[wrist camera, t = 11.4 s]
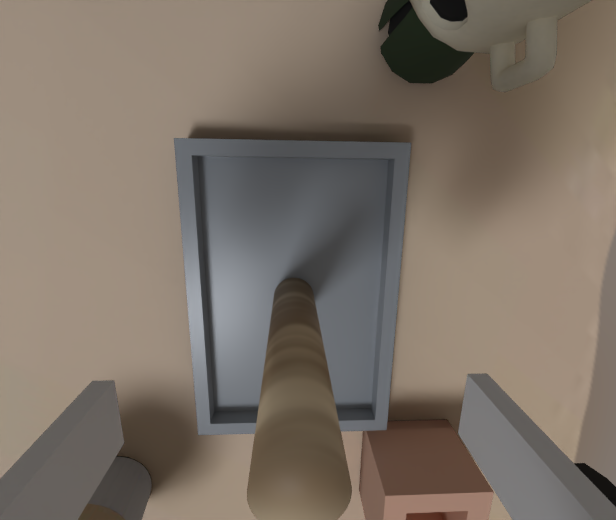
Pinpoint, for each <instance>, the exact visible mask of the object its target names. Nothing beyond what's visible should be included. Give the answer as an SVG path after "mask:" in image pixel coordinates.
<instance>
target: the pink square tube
mask: <svg viewBox="0 0 616 520" xmlns="http://www.w3.org/2000/svg"><path fill="white" fill-rule="evenodd" d="M359 492H360V496H361V501H362V506H363V510H364V515H365V519H366V520H488V519H489V514H490V509H491V504H492V498H493V493H494V492H493V490H492V489H491V487H490V485H489V484H488V482H487V481H486V479H485V478H484V476H483V475H482V473H481V471H480V470H479V468H478V467H477V465H476V464H475V462H474V460H473V459H472V457H471V456H470V454H469V453H468V451H467V450H466V448H465V446H464V445H463V443H462V442H461V440H460V439H459V437H458V435H457V434H456V432H455V431H454V429H453V428H452V426H451V425H450V423H449V421H448V420H414V421H387V430H374V431H363V438H362V454H361V469H360V485H359Z"/></svg>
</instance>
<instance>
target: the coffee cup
mask: <svg viewBox="0 0 616 520" xmlns="http://www.w3.org/2000/svg"><path fill="white" fill-rule="evenodd" d="M151 488H152V485H151V478H150V475H149V473H148V471H147V470H146V468H145V467H144V466H143V465H142V464H141V463H139V462H137V461H135V460H133V459H130V458H126V457H115V459H114V461H113V462H112V464H111V466H110V467H109V469H108V471H107V472H106V474H105V476H104V477H103V479H102V480H101V482H100V484H99V485H98V487H97V489H96V490H95V492H94V494H93V495H92V497H91V499H90V500H89V502H88V503H87V505H86V507H85V508H84V510H83V512H82V513H81V515H80V517H79V518H78V520H142V517H143V514H144V511H145V508H146V505H147V502H148V499H149V496H150V492H151Z"/></svg>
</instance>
